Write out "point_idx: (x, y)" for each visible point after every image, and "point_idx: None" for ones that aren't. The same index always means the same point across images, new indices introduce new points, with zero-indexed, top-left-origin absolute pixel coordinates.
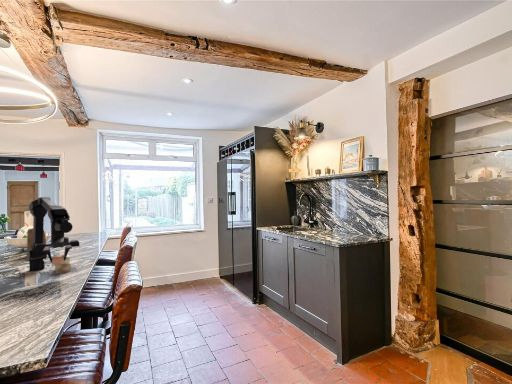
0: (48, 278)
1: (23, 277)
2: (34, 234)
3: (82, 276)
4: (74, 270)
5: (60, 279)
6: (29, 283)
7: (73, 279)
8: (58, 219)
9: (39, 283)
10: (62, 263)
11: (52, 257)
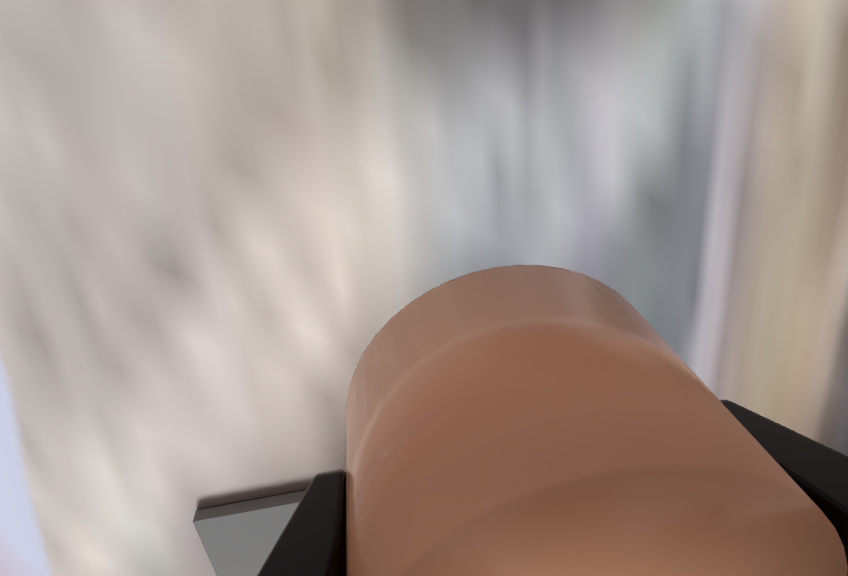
0: None
1: None
2: None
3: (7, 181)
4: (252, 566)
5: (395, 166)
6: (827, 165)
7: (136, 14)
8: None
9: (710, 68)
10: (376, 340)
11: (828, 520)
